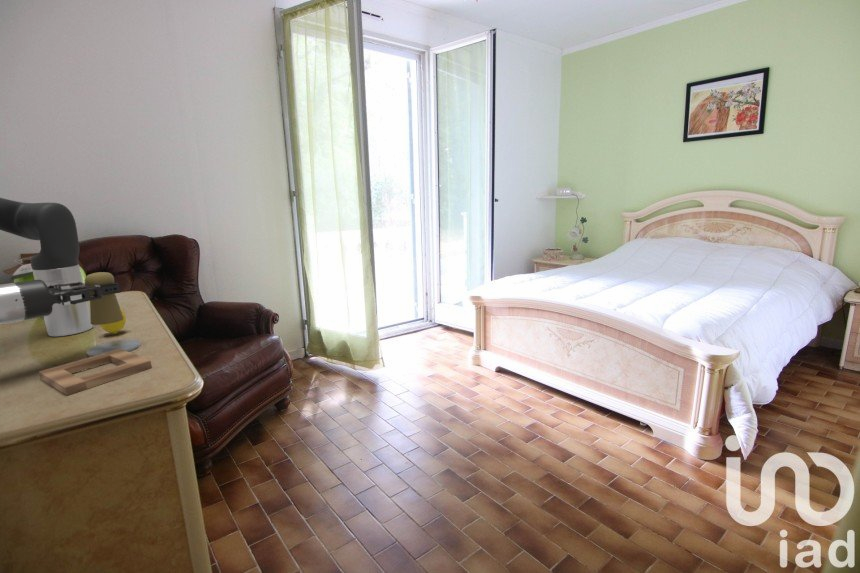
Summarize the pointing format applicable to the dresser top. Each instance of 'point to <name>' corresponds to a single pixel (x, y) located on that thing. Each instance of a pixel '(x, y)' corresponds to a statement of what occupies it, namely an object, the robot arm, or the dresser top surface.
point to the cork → (103, 301)
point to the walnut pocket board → (72, 384)
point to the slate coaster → (114, 346)
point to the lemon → (115, 325)
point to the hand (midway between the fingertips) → (114, 286)
